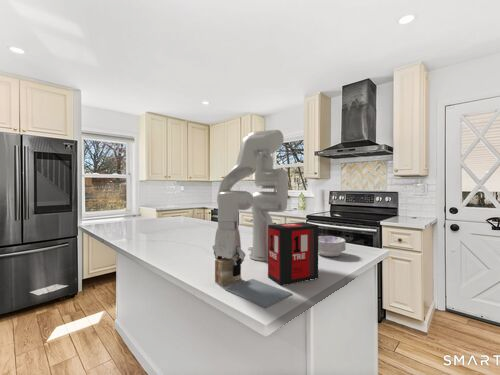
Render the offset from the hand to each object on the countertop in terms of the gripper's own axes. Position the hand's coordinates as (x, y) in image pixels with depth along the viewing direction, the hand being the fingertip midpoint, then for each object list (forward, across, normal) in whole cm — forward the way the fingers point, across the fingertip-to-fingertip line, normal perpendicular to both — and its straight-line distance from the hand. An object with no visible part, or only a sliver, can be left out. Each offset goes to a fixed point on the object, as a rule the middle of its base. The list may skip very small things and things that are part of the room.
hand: (227, 272), depth 97 cm
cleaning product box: (+3, +15, +19) cm, 25 cm away
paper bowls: (+3, +9, +59) cm, 60 cm away
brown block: (+3, 0, 0) cm, 3 cm away
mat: (+3, +15, 0) cm, 15 cm away
